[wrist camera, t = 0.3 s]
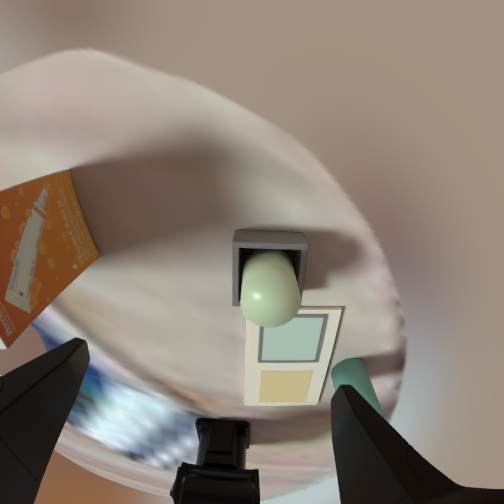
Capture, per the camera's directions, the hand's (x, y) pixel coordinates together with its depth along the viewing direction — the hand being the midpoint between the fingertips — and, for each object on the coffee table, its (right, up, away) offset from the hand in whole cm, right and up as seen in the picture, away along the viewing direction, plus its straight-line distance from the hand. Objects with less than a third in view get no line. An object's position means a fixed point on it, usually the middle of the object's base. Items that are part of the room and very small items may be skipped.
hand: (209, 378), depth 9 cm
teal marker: (+11, -8, +18) cm, 23 cm away
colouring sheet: (+5, -6, +18) cm, 19 cm away
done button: (+3, +3, +12) cm, 13 cm away
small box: (-15, +7, +13) cm, 21 cm away
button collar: (+3, +3, +14) cm, 14 cm away
